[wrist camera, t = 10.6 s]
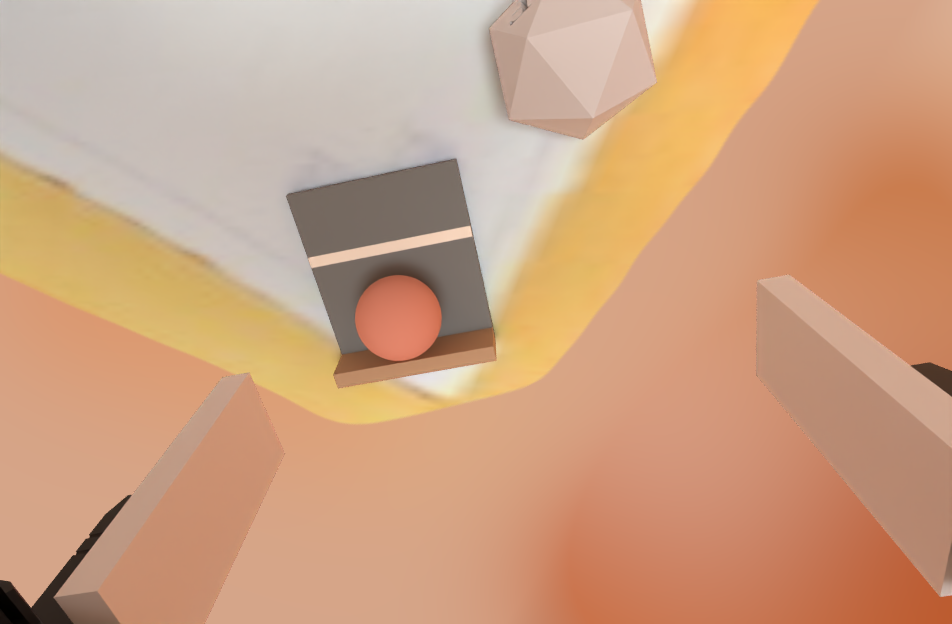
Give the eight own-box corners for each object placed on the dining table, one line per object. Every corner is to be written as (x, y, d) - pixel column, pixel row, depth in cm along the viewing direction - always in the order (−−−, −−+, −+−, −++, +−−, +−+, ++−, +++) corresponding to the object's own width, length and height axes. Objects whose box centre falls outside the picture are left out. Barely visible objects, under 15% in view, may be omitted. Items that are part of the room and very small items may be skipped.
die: (629, -43, 34) (549, -108, 26) (704, 81, 33) (643, 52, 25) (526, 56, 39) (433, 26, 31) (588, 167, 38) (507, 164, 30)
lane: (288, 194, 40) (271, 207, 37) (456, 158, 39) (454, 169, 35) (348, 363, 46) (338, 388, 42) (495, 337, 45) (496, 360, 41)
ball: (355, 270, 42) (334, 304, 36) (434, 255, 41) (425, 288, 36) (377, 341, 44) (360, 383, 39) (452, 328, 43) (446, 369, 38)
